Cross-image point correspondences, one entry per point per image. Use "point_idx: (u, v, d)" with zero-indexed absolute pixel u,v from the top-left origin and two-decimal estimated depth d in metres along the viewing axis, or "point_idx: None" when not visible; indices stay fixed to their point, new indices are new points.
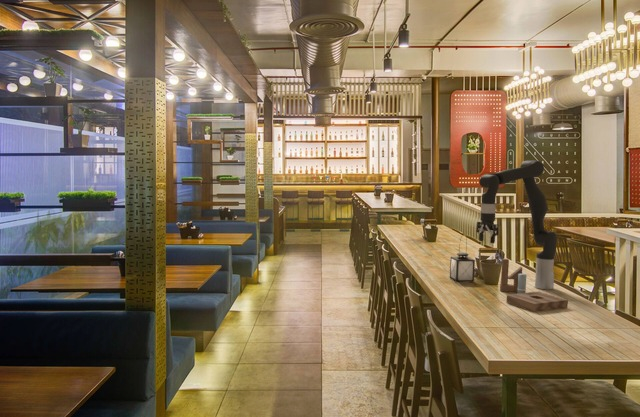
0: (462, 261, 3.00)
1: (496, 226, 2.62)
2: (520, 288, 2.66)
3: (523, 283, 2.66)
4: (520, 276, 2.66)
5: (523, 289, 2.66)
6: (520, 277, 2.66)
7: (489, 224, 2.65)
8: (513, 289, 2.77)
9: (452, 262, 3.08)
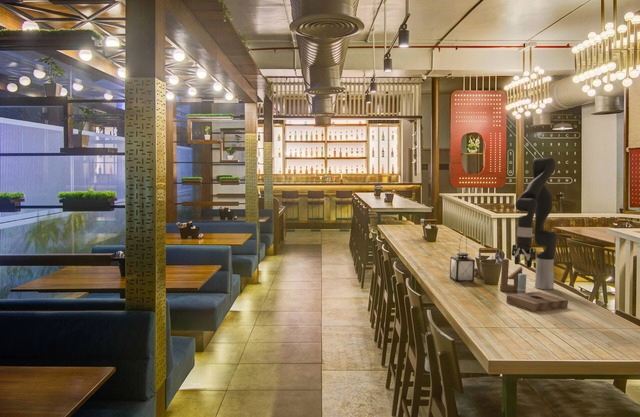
0: (462, 261, 3.00)
1: (533, 250, 2.60)
2: (520, 288, 2.66)
3: (523, 283, 2.66)
4: (520, 276, 2.66)
5: (523, 289, 2.66)
6: (520, 277, 2.66)
7: (526, 248, 2.63)
8: (513, 289, 2.77)
9: (452, 262, 3.08)
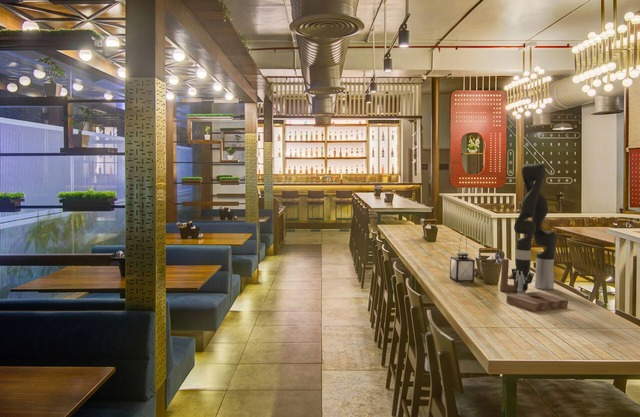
0: (462, 261, 3.00)
1: (531, 275, 2.61)
2: (520, 288, 2.66)
3: (523, 283, 2.66)
4: (520, 276, 2.66)
5: None
6: (520, 277, 2.66)
7: (525, 270, 2.64)
8: (513, 289, 2.77)
9: (452, 262, 3.08)
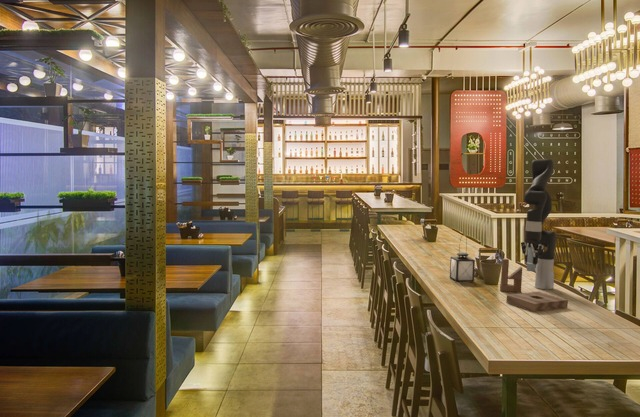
0: (462, 261, 3.00)
1: (542, 248, 2.49)
2: (530, 262, 2.54)
3: (533, 256, 2.53)
4: (530, 249, 2.54)
5: None
6: (530, 250, 2.54)
7: (535, 243, 2.52)
8: (513, 289, 2.77)
9: (452, 262, 3.08)
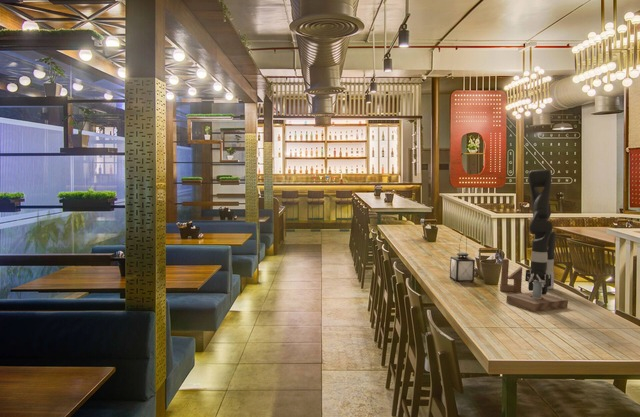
0: (462, 261, 3.00)
1: (549, 277, 2.44)
2: (535, 296, 2.49)
3: (538, 291, 2.49)
4: (535, 283, 2.49)
5: (538, 297, 2.49)
6: (535, 285, 2.49)
7: (541, 274, 2.47)
8: (513, 289, 2.77)
9: (452, 262, 3.08)
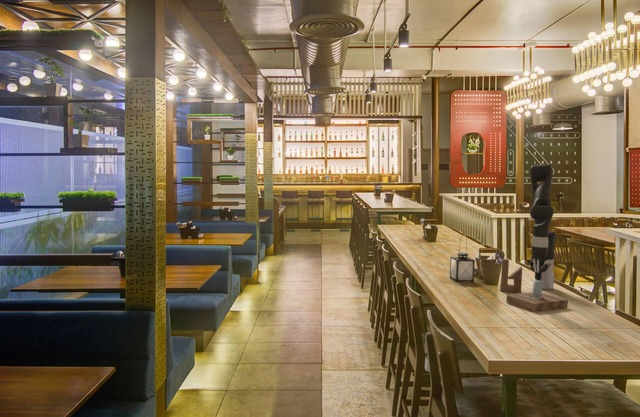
0: (462, 261, 3.00)
1: (547, 266, 2.44)
2: (535, 296, 2.49)
3: (539, 291, 2.49)
4: (535, 283, 2.49)
5: (538, 297, 2.49)
6: (535, 285, 2.49)
7: (542, 258, 2.46)
8: (513, 289, 2.77)
9: (452, 262, 3.08)
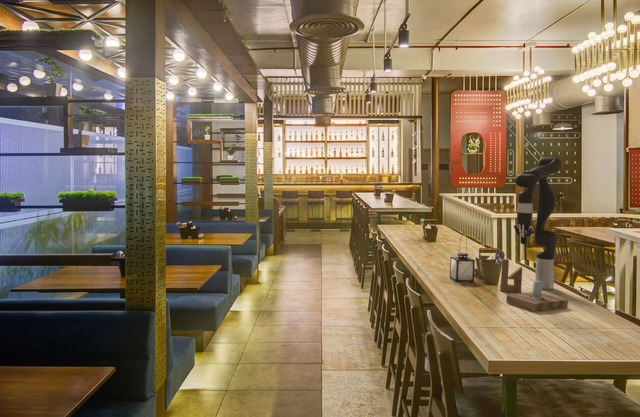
0: (462, 261, 3.00)
1: (532, 230, 2.60)
2: (535, 296, 2.49)
3: (539, 291, 2.49)
4: (535, 283, 2.49)
5: (538, 297, 2.49)
6: (535, 285, 2.49)
7: (527, 223, 2.62)
8: (513, 289, 2.77)
9: (452, 262, 3.08)
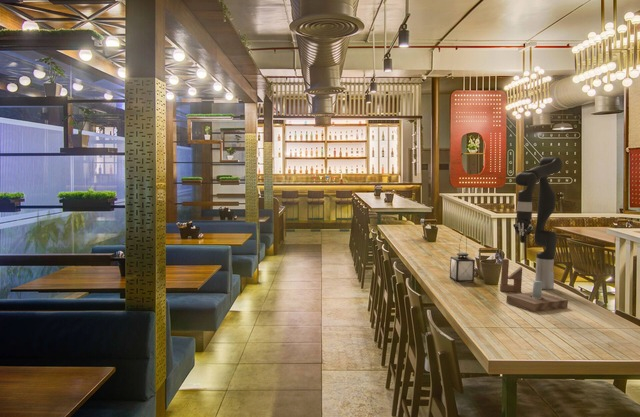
0: (462, 261, 3.00)
1: (531, 229, 2.61)
2: (535, 296, 2.49)
3: (538, 291, 2.49)
4: (535, 283, 2.49)
5: (538, 297, 2.49)
6: (535, 285, 2.49)
7: (526, 222, 2.63)
8: (513, 289, 2.77)
9: (452, 262, 3.08)
